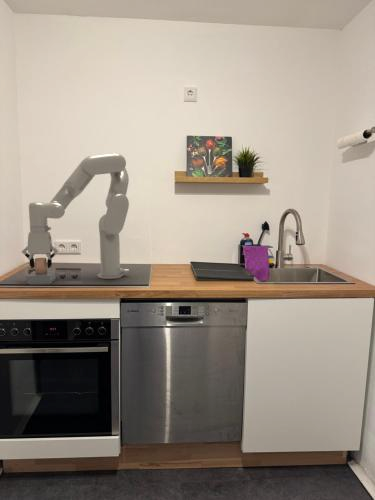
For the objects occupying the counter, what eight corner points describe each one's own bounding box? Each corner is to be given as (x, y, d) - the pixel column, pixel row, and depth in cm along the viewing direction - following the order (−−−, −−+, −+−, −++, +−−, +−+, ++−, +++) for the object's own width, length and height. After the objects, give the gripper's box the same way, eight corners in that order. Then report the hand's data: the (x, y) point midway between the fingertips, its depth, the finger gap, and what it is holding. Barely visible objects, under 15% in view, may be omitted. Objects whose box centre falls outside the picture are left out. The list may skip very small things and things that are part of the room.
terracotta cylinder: (48, 271, 167) (47, 257, 166) (45, 274, 162) (44, 259, 161) (37, 272, 166) (36, 257, 165) (34, 274, 161) (33, 259, 160)
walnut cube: (37, 275, 177) (37, 267, 177) (37, 277, 174) (37, 269, 173) (28, 275, 176) (28, 268, 175) (28, 277, 172) (28, 269, 171)
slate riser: (55, 278, 170) (54, 270, 170) (50, 284, 161) (49, 275, 160) (33, 279, 169) (33, 271, 168) (27, 284, 159) (26, 275, 159)
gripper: (60, 228, 166) (62, 265, 169) (21, 228, 163) (24, 266, 166) (56, 230, 158) (58, 269, 161) (16, 230, 156) (18, 269, 159)
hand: (41, 267), depth 164 cm, fingers open, 6 cm apart
